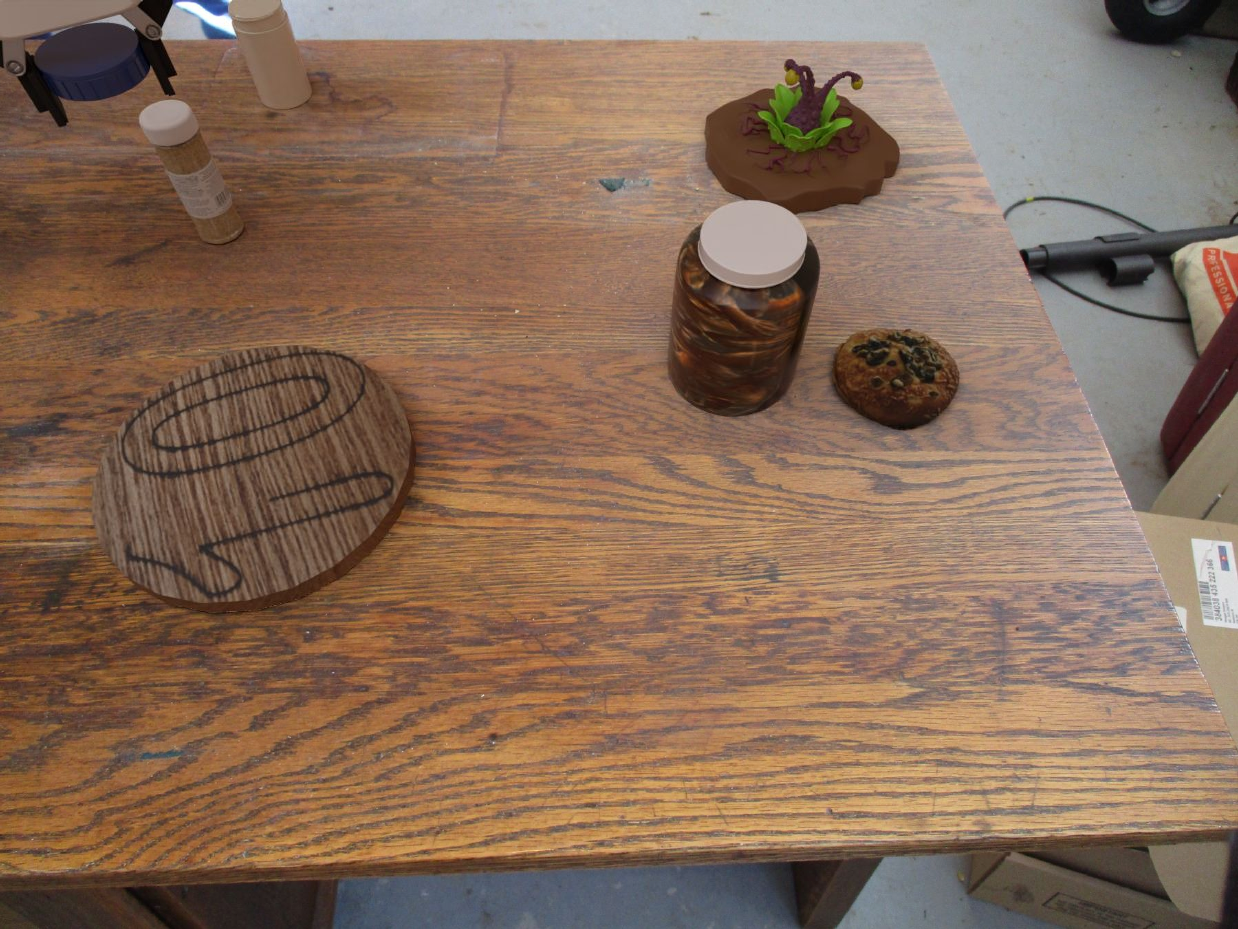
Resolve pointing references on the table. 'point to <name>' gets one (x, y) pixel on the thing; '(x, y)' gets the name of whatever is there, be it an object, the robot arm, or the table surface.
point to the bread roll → (895, 376)
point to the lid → (92, 61)
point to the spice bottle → (192, 169)
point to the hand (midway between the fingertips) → (114, 99)
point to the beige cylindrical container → (270, 52)
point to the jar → (741, 307)
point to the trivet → (254, 478)
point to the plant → (799, 145)
